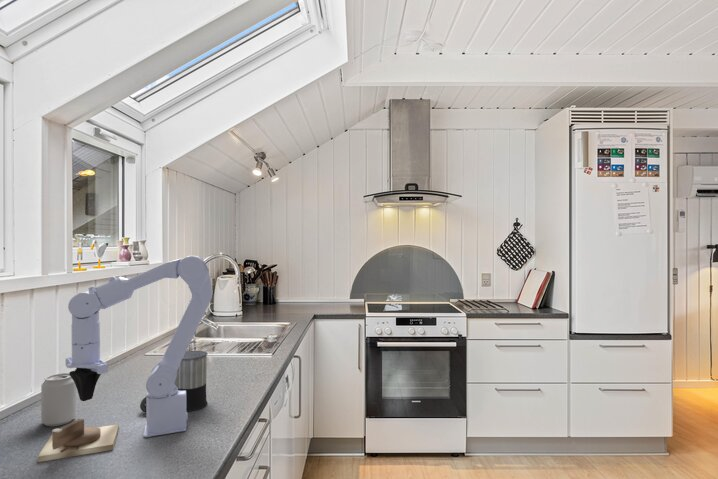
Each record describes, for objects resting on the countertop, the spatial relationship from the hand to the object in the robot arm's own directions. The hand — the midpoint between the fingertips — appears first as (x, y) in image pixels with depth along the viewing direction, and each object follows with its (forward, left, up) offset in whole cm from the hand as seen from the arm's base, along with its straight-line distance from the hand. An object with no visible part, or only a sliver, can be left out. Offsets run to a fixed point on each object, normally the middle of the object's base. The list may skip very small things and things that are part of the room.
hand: (86, 399), depth 104 cm
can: (+8, -15, -10) cm, 19 cm away
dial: (+1, +5, -8) cm, 9 cm away
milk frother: (-19, -13, -10) cm, 25 cm away
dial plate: (0, +3, -9) cm, 10 cm away
